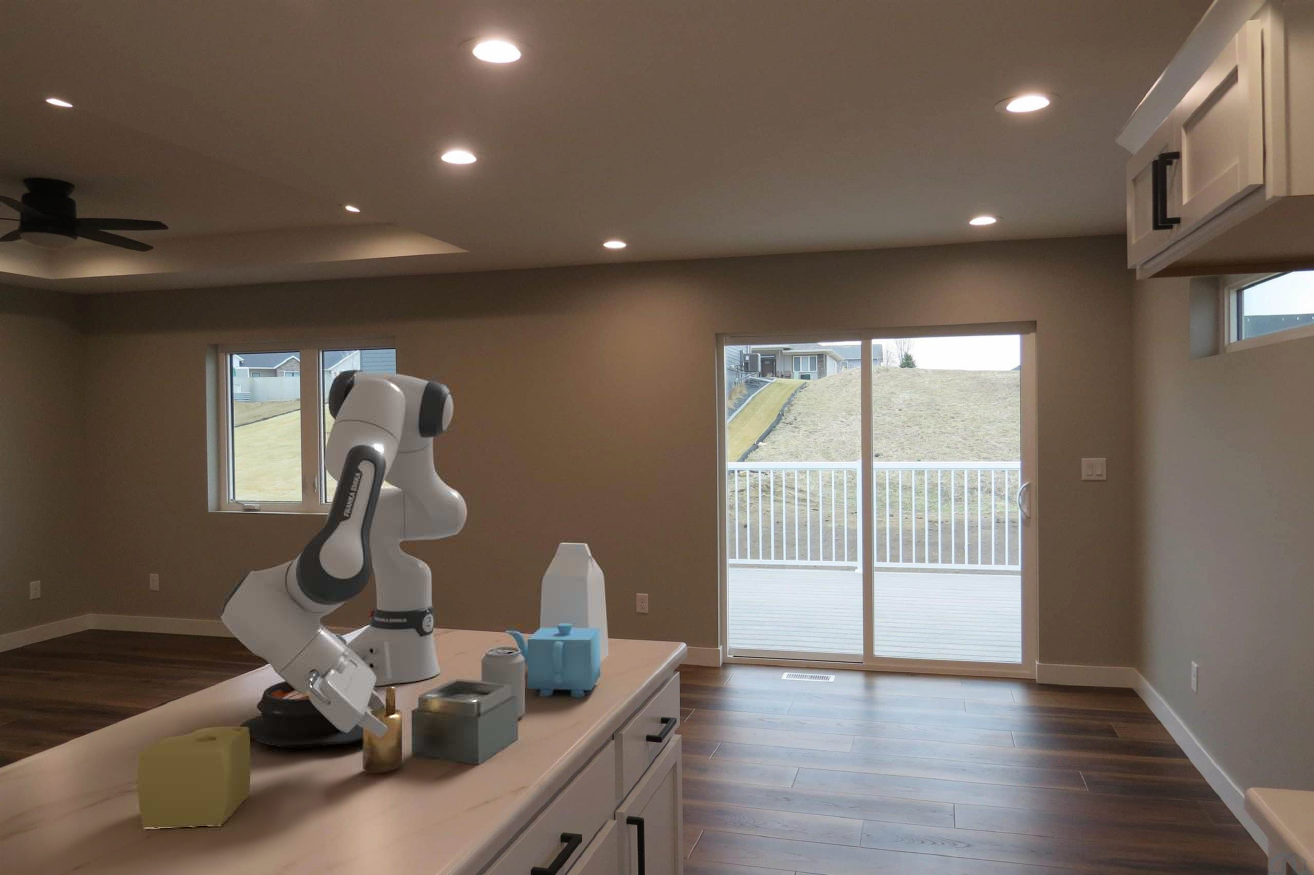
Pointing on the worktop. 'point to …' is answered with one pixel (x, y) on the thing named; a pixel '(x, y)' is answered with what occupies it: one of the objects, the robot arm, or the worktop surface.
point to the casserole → (294, 721)
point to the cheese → (194, 778)
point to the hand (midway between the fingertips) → (386, 724)
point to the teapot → (561, 658)
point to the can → (506, 671)
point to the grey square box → (464, 721)
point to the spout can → (384, 739)
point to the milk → (575, 592)
